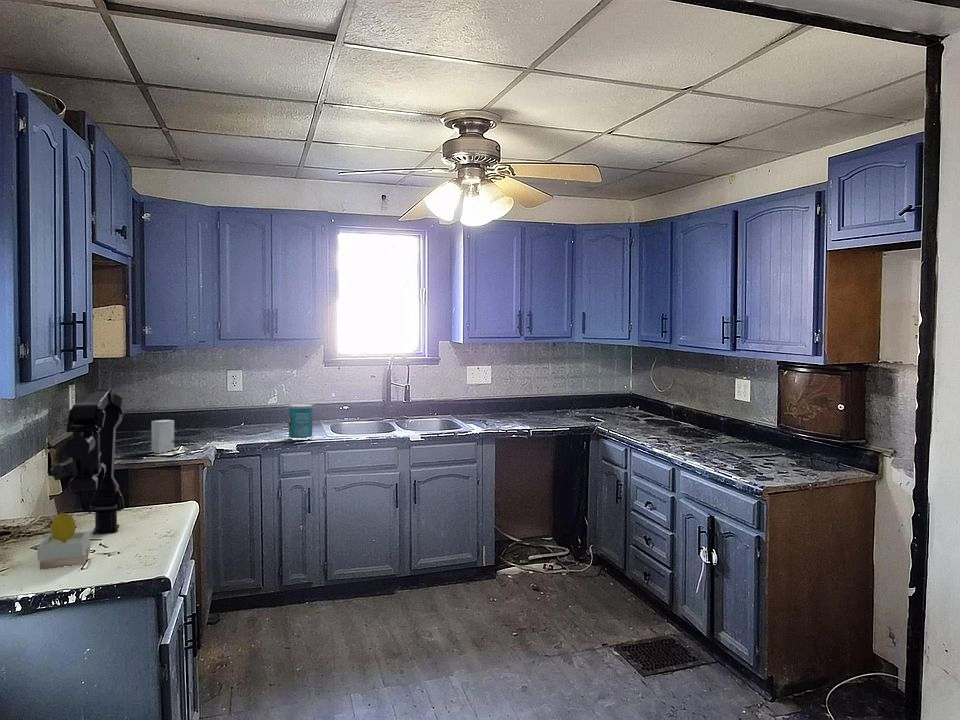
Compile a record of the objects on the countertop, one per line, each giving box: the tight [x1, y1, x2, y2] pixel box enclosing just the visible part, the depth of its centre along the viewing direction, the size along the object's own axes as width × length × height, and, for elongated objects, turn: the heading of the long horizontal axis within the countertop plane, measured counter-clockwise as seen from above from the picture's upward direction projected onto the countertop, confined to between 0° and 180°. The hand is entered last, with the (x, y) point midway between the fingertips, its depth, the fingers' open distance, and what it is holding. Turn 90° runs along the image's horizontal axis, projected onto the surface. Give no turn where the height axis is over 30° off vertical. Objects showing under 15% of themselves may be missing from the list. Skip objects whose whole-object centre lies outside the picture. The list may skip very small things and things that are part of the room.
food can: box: [288, 403, 313, 438], centre depth 357 cm, size 12×12×18 cm
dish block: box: [36, 531, 91, 561], centre depth 179 cm, size 10×10×4 cm
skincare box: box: [150, 419, 175, 454], centre depth 317 cm, size 8×6×15 cm
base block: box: [39, 544, 91, 570], centre depth 179 cm, size 10×10×3 cm
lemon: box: [50, 512, 77, 542], centre depth 178 cm, size 6×6×8 cm
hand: (88, 506), depth 185 cm, fingers open, 9 cm apart
